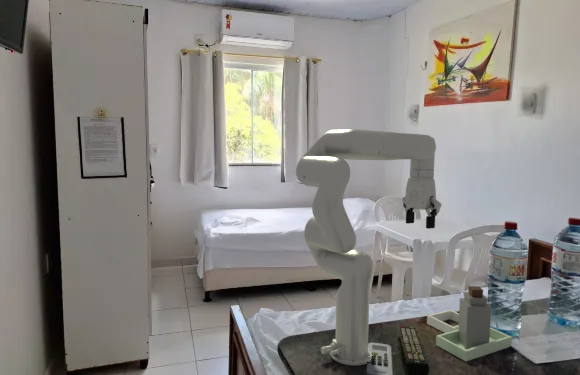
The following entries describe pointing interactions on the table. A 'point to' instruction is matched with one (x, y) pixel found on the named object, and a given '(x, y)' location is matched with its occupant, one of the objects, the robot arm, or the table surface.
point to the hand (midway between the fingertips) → (419, 225)
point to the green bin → (455, 347)
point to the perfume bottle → (474, 318)
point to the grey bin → (438, 319)
